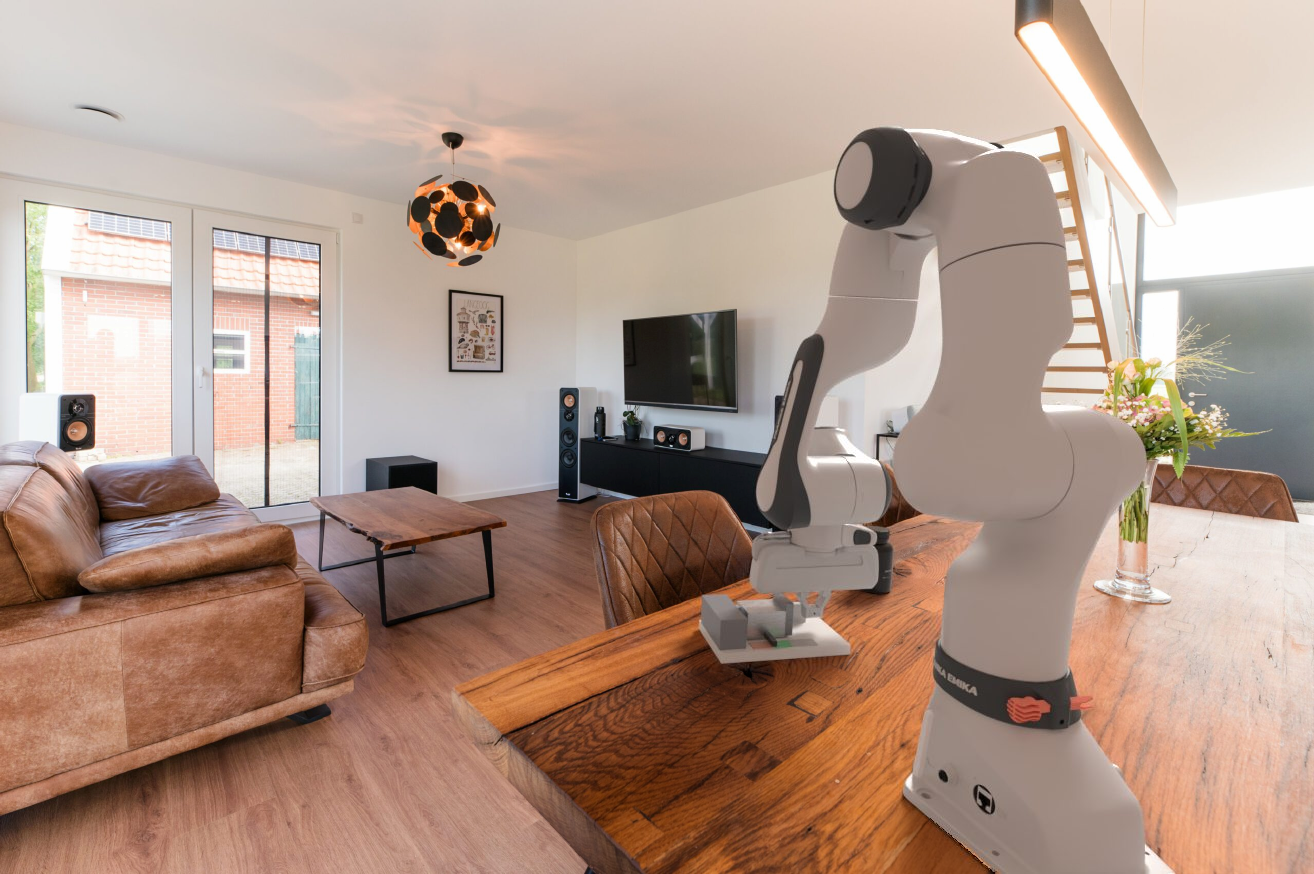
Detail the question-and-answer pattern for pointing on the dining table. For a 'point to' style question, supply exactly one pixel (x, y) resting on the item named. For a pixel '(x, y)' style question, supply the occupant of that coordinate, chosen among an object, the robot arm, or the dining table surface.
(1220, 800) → the dining table surface
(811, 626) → the gauge base
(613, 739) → the dining table surface
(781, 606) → the grey sliding block
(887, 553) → the supplement bottle
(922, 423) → the robot arm
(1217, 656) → the dining table surface
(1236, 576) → the dining table surface
